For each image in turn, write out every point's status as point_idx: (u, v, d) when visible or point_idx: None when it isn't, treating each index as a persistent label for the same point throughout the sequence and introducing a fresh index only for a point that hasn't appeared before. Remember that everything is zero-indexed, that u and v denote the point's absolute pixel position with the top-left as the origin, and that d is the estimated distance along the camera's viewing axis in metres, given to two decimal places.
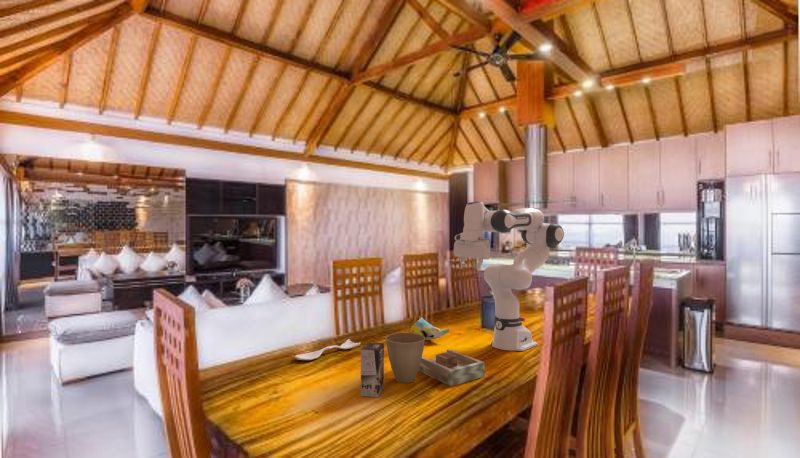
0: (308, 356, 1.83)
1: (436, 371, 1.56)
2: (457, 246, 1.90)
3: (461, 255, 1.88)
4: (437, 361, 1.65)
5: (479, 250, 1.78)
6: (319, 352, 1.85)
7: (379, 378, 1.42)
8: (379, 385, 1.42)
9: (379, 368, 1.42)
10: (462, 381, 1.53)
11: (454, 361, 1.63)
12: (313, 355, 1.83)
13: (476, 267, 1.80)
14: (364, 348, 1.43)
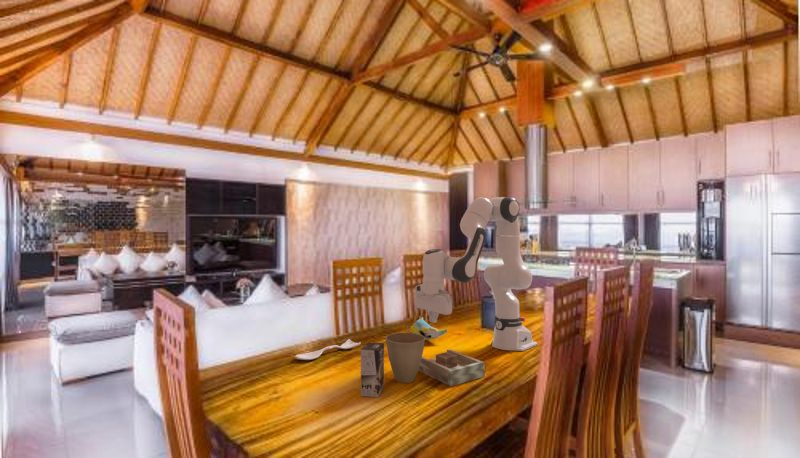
0: (308, 356, 1.83)
1: (436, 371, 1.56)
2: (418, 297, 1.76)
3: (423, 307, 1.74)
4: (437, 361, 1.65)
5: (440, 305, 1.64)
6: (319, 352, 1.85)
7: (379, 378, 1.42)
8: (379, 385, 1.42)
9: (379, 368, 1.42)
10: (462, 381, 1.53)
11: (454, 361, 1.63)
12: (313, 355, 1.83)
13: (432, 320, 1.70)
14: (364, 348, 1.43)
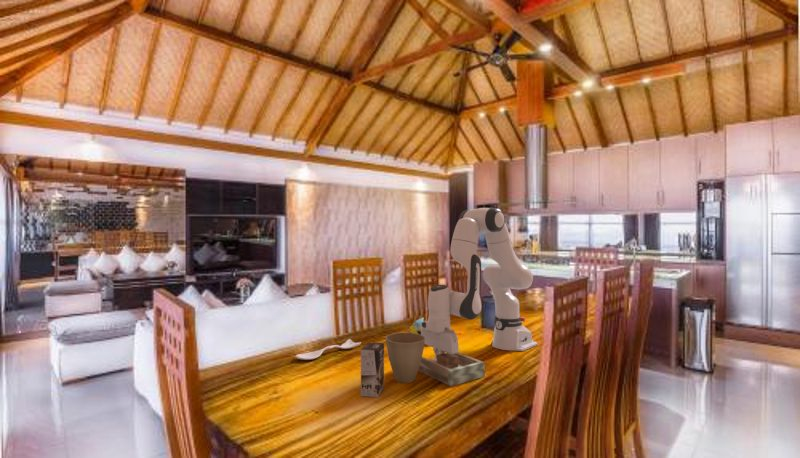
0: (309, 356, 1.83)
1: (436, 371, 1.56)
2: (424, 333, 1.73)
3: (429, 344, 1.71)
4: (438, 362, 1.64)
5: (446, 344, 1.62)
6: (320, 352, 1.85)
7: (379, 378, 1.42)
8: (379, 385, 1.42)
9: (379, 368, 1.42)
10: (462, 381, 1.53)
11: (455, 362, 1.62)
12: (314, 355, 1.84)
13: None
14: (364, 348, 1.43)
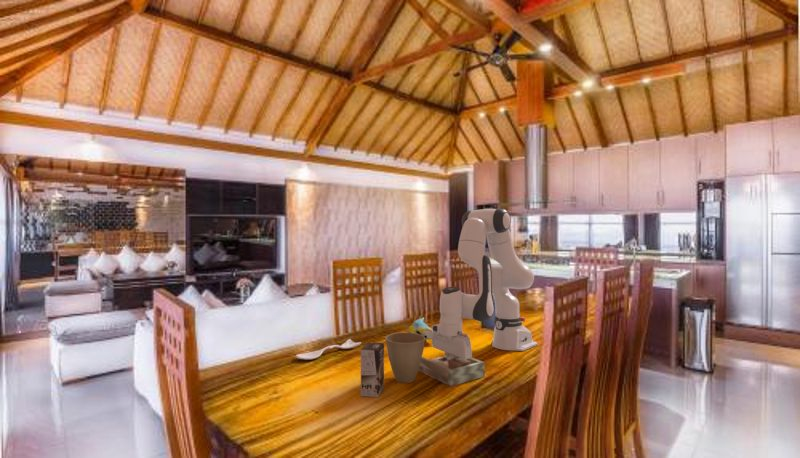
0: (309, 355, 1.83)
1: (436, 371, 1.56)
2: (435, 336, 1.67)
3: (440, 348, 1.65)
4: (450, 367, 1.58)
5: (459, 348, 1.55)
6: (320, 352, 1.85)
7: (379, 378, 1.42)
8: (379, 385, 1.42)
9: (379, 368, 1.42)
10: (462, 381, 1.53)
11: None
12: (314, 354, 1.84)
13: None
14: (364, 348, 1.43)
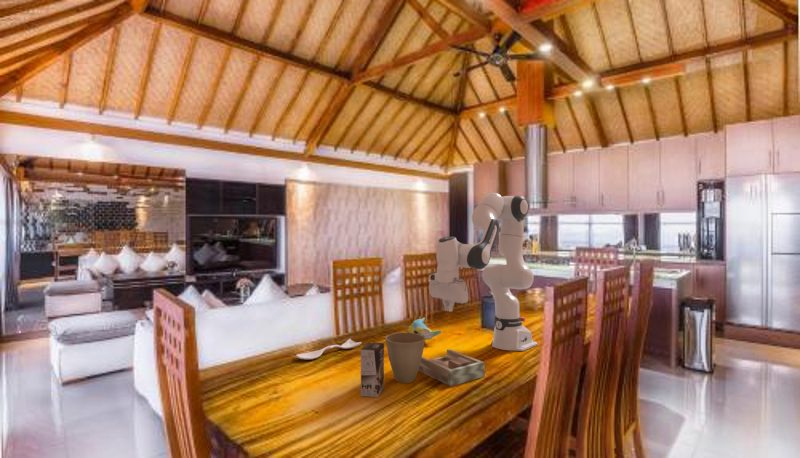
0: (309, 355, 1.84)
1: (436, 371, 1.56)
2: (432, 286, 1.73)
3: (438, 296, 1.71)
4: (450, 367, 1.58)
5: (456, 293, 1.61)
6: (320, 351, 1.85)
7: (379, 378, 1.42)
8: (379, 385, 1.42)
9: (379, 368, 1.42)
10: (462, 381, 1.53)
11: None
12: (314, 354, 1.84)
13: (448, 309, 1.67)
14: (364, 348, 1.43)
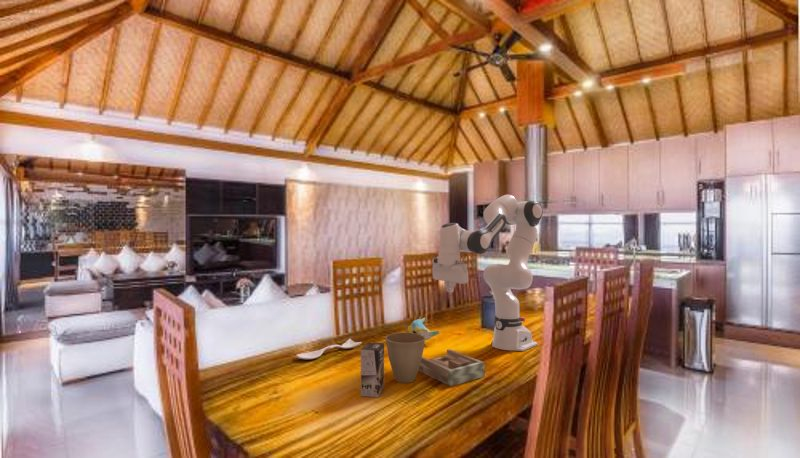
0: (309, 355, 1.84)
1: (436, 371, 1.56)
2: (435, 269, 1.86)
3: (440, 278, 1.83)
4: (450, 367, 1.58)
5: (457, 275, 1.74)
6: (320, 351, 1.86)
7: (379, 378, 1.42)
8: (379, 385, 1.42)
9: (379, 368, 1.42)
10: (462, 381, 1.53)
11: None
12: (314, 354, 1.84)
13: (449, 290, 1.80)
14: (364, 348, 1.43)
